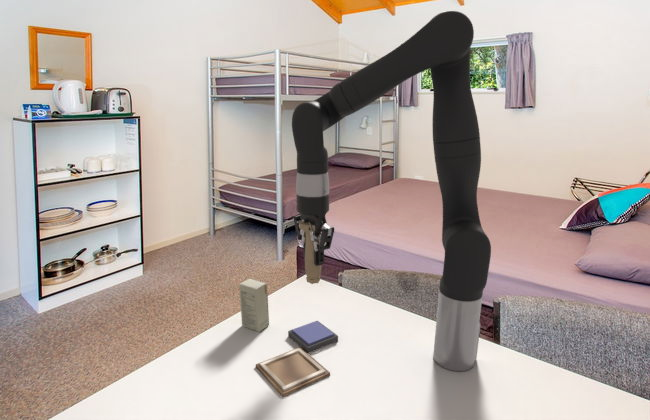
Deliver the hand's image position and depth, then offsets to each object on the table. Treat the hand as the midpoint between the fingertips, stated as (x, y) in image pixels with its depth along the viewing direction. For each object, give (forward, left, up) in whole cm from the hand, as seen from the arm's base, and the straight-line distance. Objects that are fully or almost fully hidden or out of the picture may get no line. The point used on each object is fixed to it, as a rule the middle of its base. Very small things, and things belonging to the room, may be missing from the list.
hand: (313, 261), depth 102 cm
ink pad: (0, 0, -21) cm, 21 cm away
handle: (0, 0, -5) cm, 5 cm away
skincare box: (+9, -14, -21) cm, 27 cm away
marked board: (+11, +8, -21) cm, 25 cm away
